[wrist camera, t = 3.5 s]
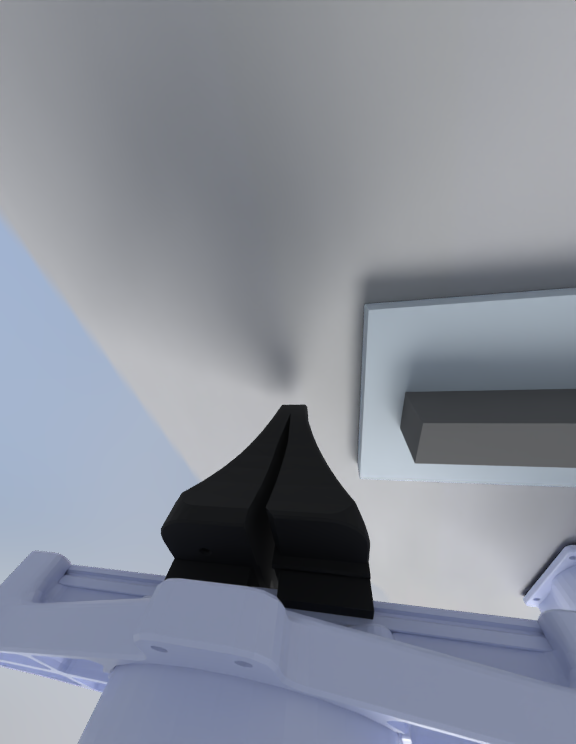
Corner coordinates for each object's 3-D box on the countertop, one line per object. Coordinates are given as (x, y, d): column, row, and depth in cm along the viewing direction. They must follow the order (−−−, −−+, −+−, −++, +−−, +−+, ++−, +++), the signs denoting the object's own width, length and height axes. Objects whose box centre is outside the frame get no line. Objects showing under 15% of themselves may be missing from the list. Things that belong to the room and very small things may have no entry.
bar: (570, 429, 12) (624, 469, 10) (399, 428, 13) (414, 463, 11) (594, 388, 11) (661, 423, 8) (405, 391, 12) (423, 423, 10)
